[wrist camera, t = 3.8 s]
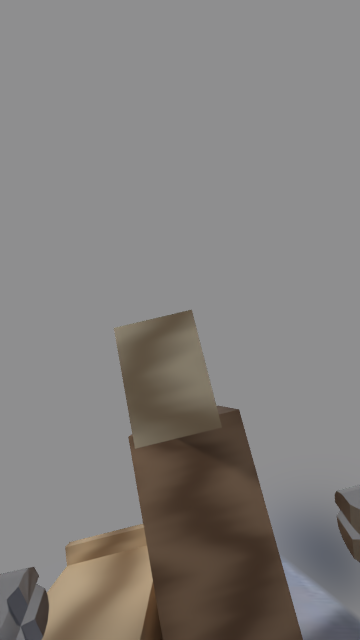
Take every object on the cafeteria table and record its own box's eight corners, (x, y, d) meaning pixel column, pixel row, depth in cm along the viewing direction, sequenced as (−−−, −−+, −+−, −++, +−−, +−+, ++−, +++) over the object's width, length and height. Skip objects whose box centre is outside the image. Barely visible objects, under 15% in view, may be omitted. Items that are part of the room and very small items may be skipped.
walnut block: (232, 1127, 11) (120, 438, 18) (208, 700, 28) (153, 421, 35) (434, 1065, 12) (246, 407, 19) (292, 678, 28) (221, 404, 35)
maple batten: (134, 449, 11) (113, 327, 13) (170, 418, 30) (161, 372, 32) (221, 427, 11) (191, 309, 13) (202, 410, 31) (191, 364, 32)
